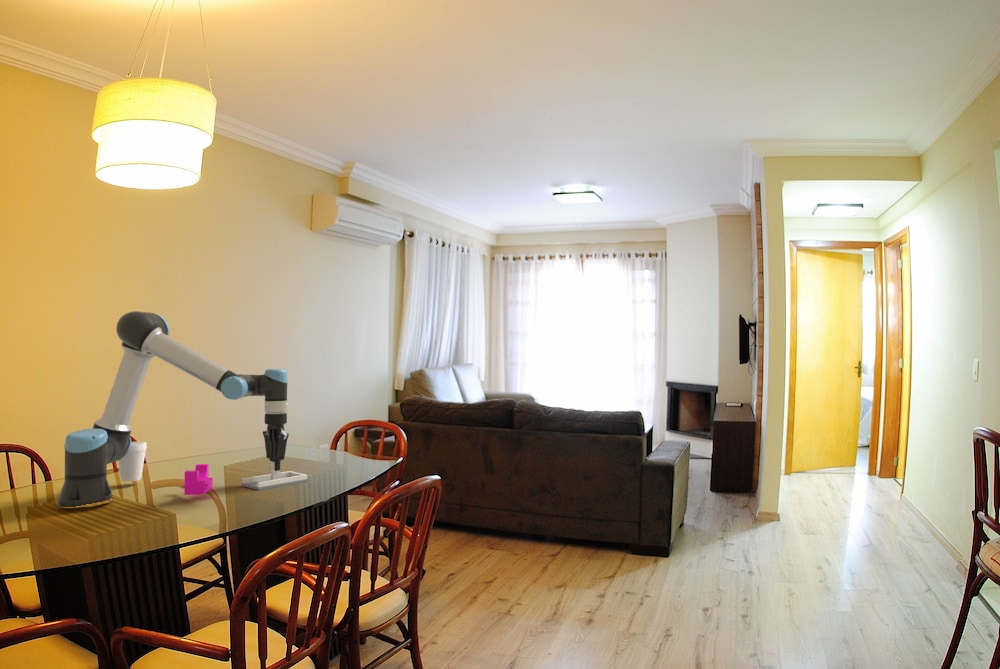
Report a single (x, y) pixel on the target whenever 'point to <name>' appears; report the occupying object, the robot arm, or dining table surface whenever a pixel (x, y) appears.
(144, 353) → the robot arm
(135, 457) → the foam cup
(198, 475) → the toy block
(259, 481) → the tray
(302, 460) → the dining table surface
